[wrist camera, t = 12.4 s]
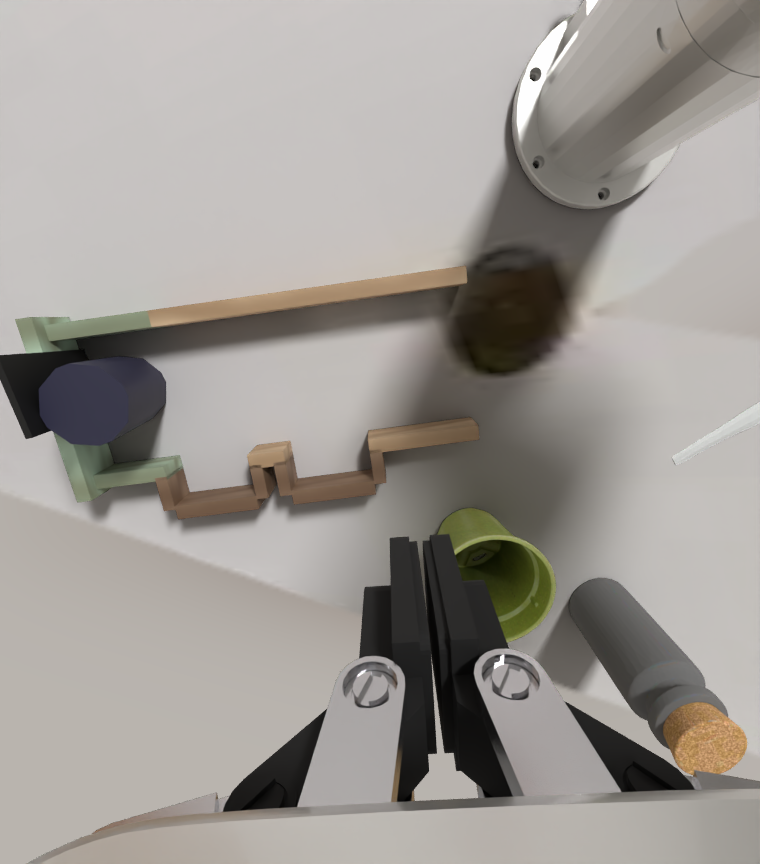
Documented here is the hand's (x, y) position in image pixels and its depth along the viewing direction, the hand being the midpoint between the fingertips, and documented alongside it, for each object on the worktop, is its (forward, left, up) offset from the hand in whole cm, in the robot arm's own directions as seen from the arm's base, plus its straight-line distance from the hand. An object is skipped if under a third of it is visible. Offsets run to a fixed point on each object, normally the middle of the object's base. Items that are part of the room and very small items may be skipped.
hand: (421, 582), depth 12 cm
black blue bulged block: (-5, -22, -26) cm, 34 cm away
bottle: (+23, +18, -26) cm, 39 cm away
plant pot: (+14, +6, -26) cm, 30 cm away
